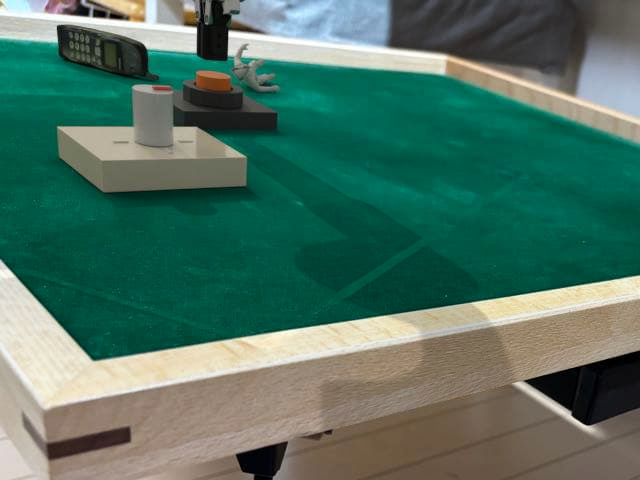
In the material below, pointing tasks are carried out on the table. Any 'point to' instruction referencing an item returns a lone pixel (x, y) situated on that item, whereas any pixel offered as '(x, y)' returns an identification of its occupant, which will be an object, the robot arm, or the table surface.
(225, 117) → the button box
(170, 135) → the grey cylinder
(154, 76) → the mobile phone
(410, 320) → the table surface
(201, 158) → the plate
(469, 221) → the table surface
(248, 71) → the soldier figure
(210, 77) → the button
